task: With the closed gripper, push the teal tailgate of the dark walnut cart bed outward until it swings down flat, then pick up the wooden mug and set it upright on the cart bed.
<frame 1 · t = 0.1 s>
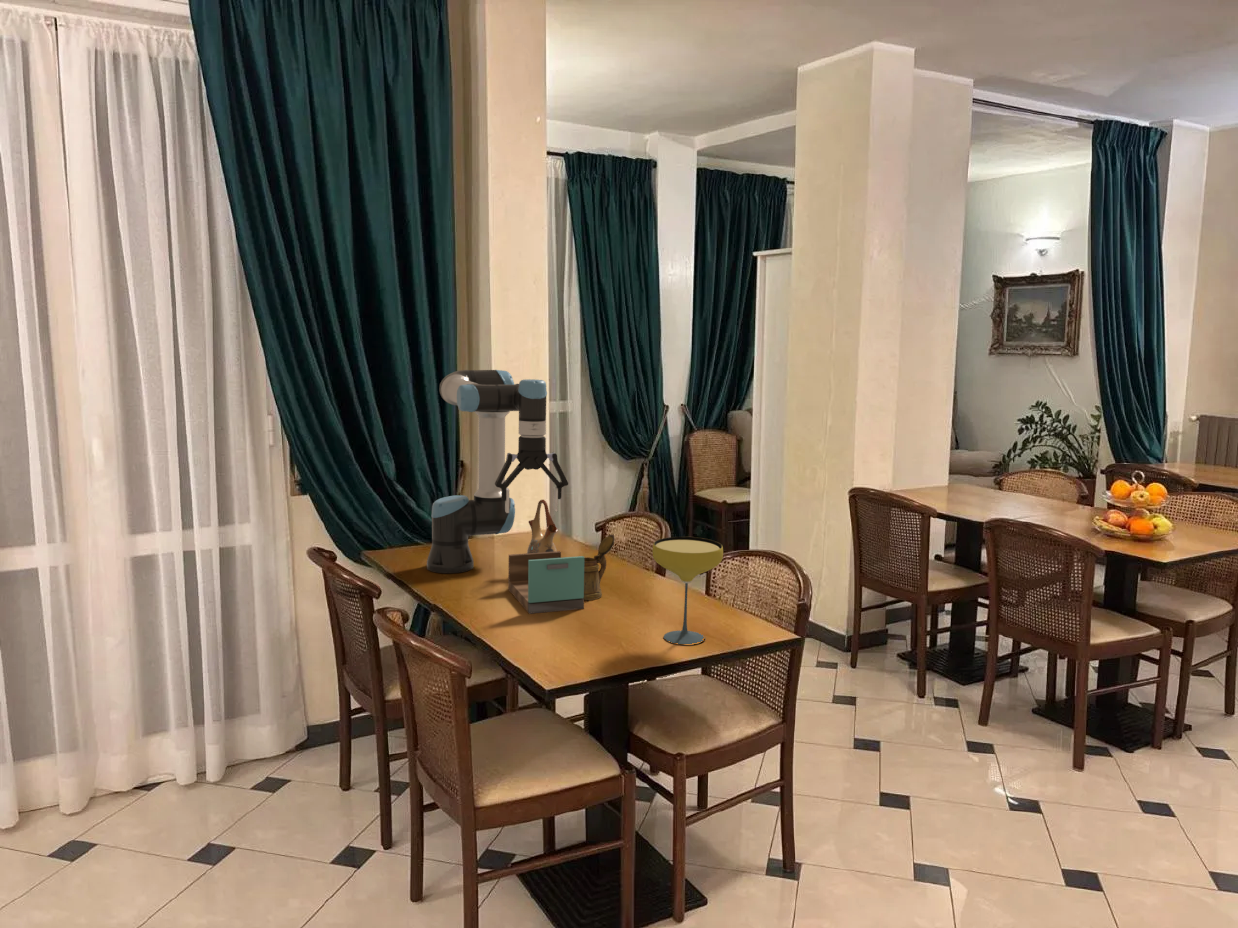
hand: (531, 511, 253), 28 cm above the table, tool pointing down, fingers open, 13 cm apart
ceramic vessel: (541, 576, 290), on the table
cocktail glass: (684, 639, 235), on the table
cart bed: (544, 598, 267), on the table
wooden mug: (593, 595, 271), on the table
tailgate: (556, 579, 254), point 9 cm above the table, hinge at 0.0°
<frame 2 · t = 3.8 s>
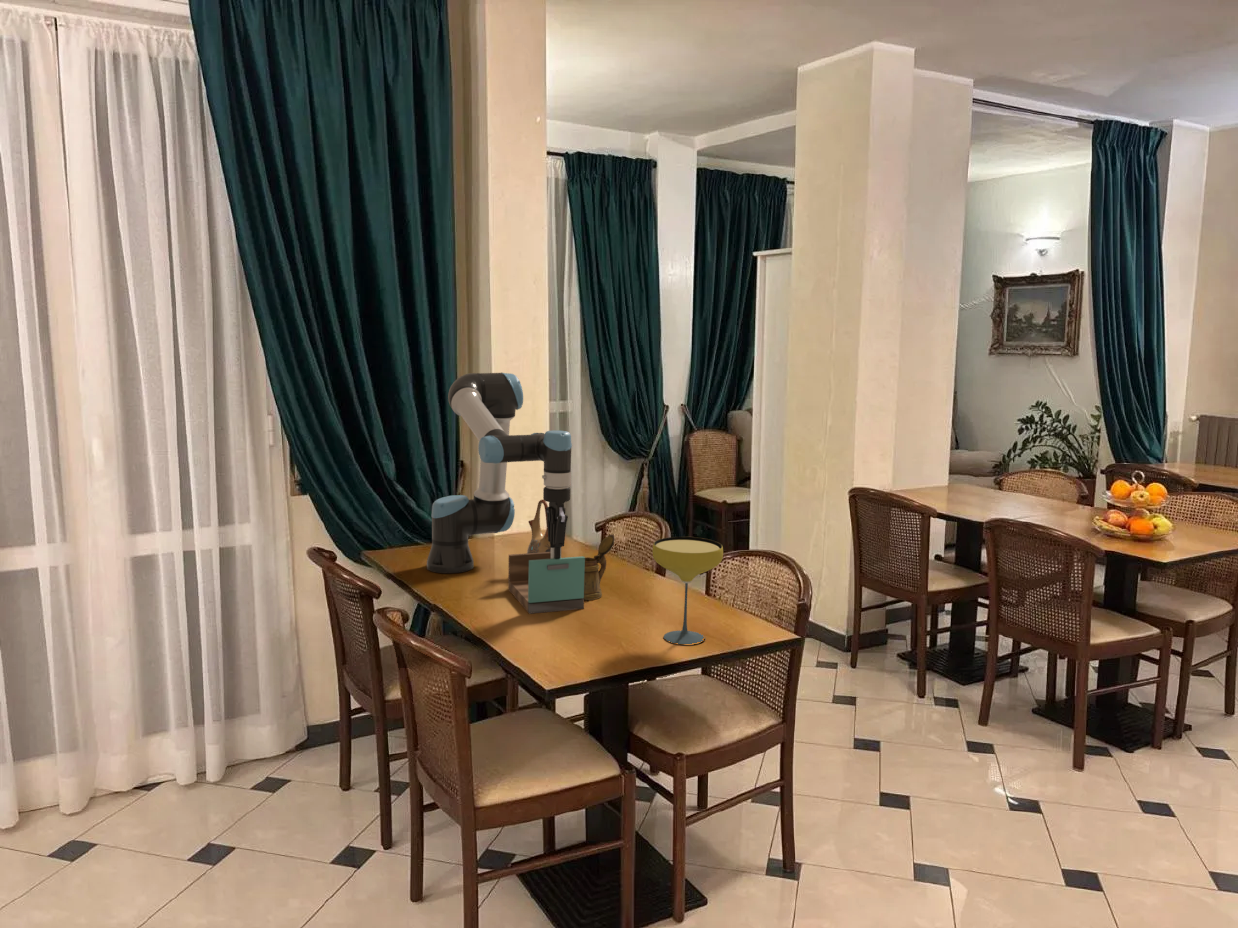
hand: (555, 568, 255), 12 cm above the table, tool pointing down, fingers closed
tailgate: (557, 579, 254), point 9 cm above the table, hinge at 1.9°, touching gripper
everything else where it was.
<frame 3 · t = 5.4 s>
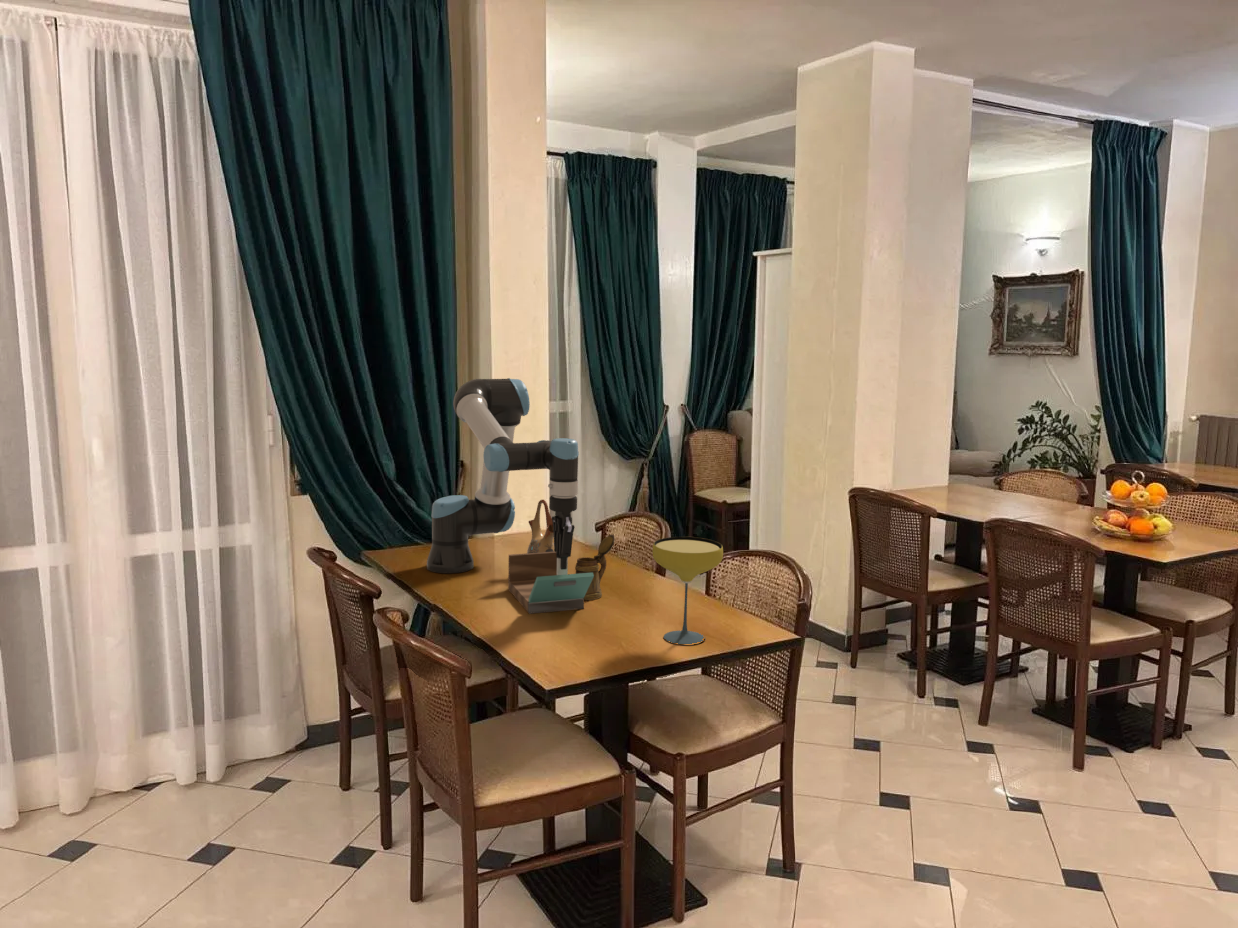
hand: (561, 579, 250), 10 cm above the table, tool pointing down, fingers closed
tailgate: (561, 588, 251), point 7 cm above the table, hinge at 43.6°, touching gripper
everything else where it was.
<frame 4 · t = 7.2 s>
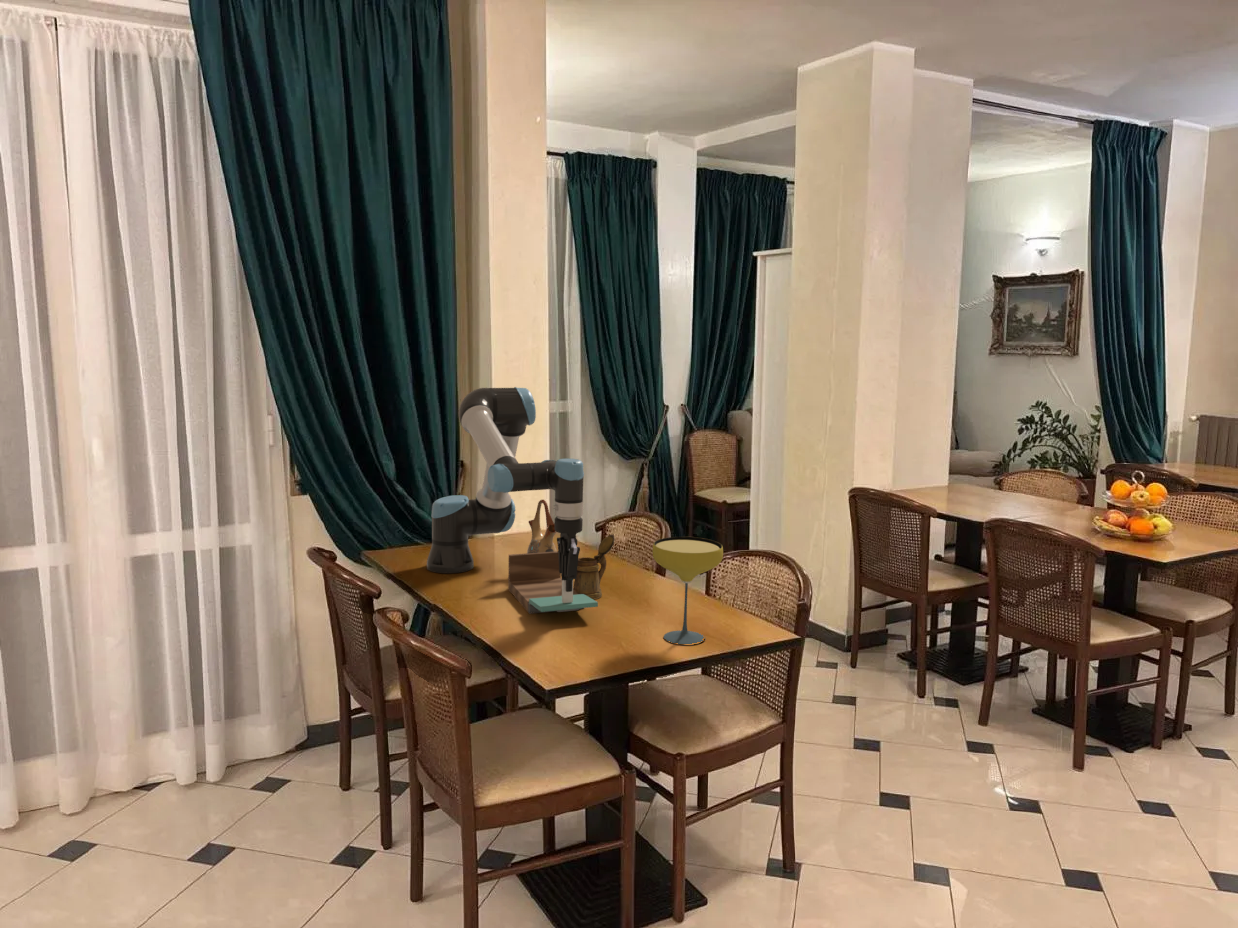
hand: (567, 601, 246), 5 cm above the table, tool pointing down, fingers closed
tailgate: (563, 603, 249), point 4 cm above the table, hinge at 84.5°, touching gripper
everything else where it was.
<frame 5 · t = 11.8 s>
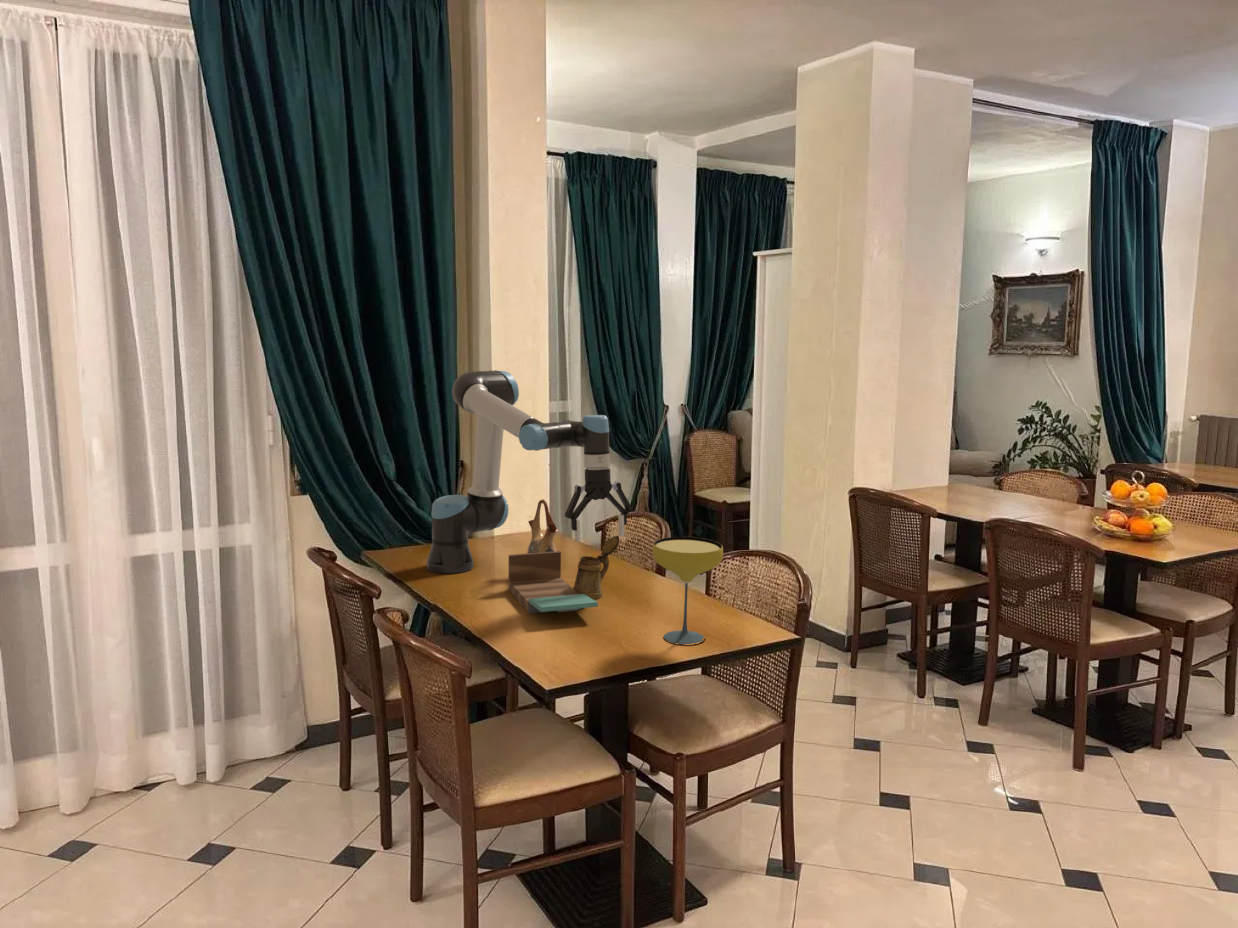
hand: (599, 538, 269), 17 cm above the table, tool pointing down, fingers open, 13 cm apart
wooden mug: (593, 595, 271), on the table, touching gripper
tailgate: (563, 603, 249), point 4 cm above the table, hinge at 84.5°
everything else where it was.
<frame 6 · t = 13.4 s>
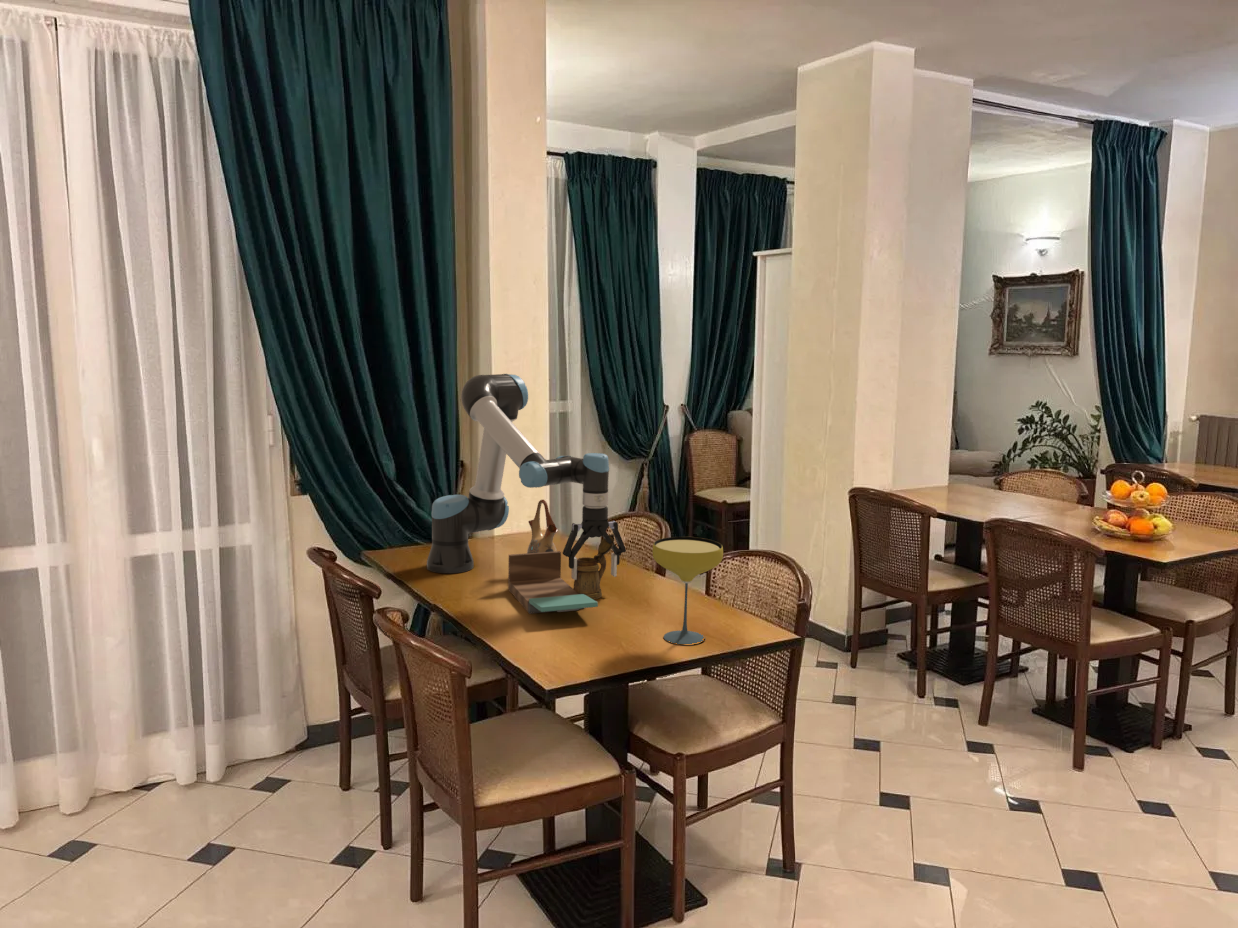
hand: (594, 577, 271), 5 cm above the table, tool pointing down, fingers open, 12 cm apart
wooden mug: (593, 595, 271), on the table, touching gripper, hand
everything else where it was.
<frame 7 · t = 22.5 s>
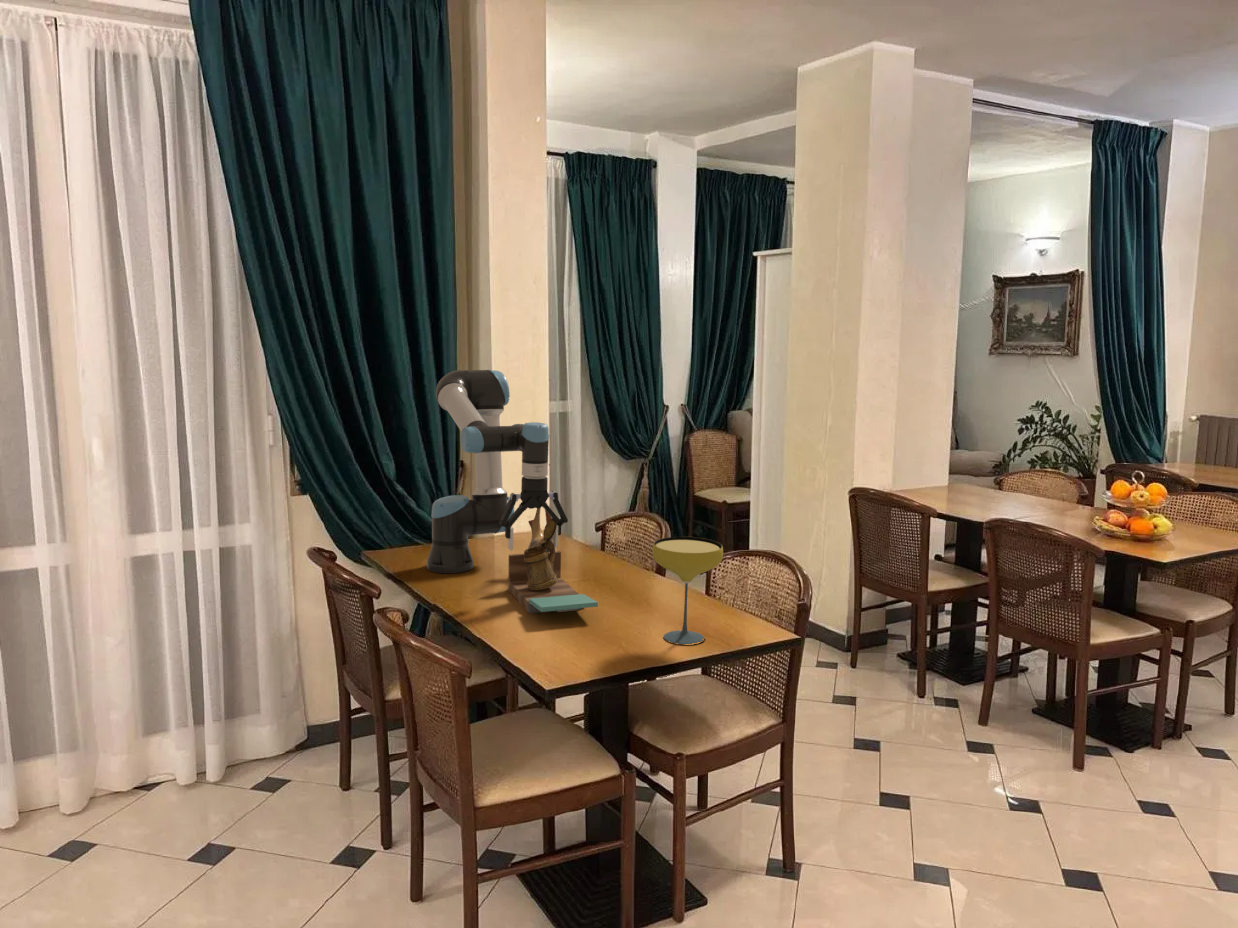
hand: (533, 547, 266), 15 cm above the table, tool pointing down, fingers open, 13 cm apart
wooden mug: (549, 582, 267), point 5 cm above the table, touching gripper
everything else where it was.
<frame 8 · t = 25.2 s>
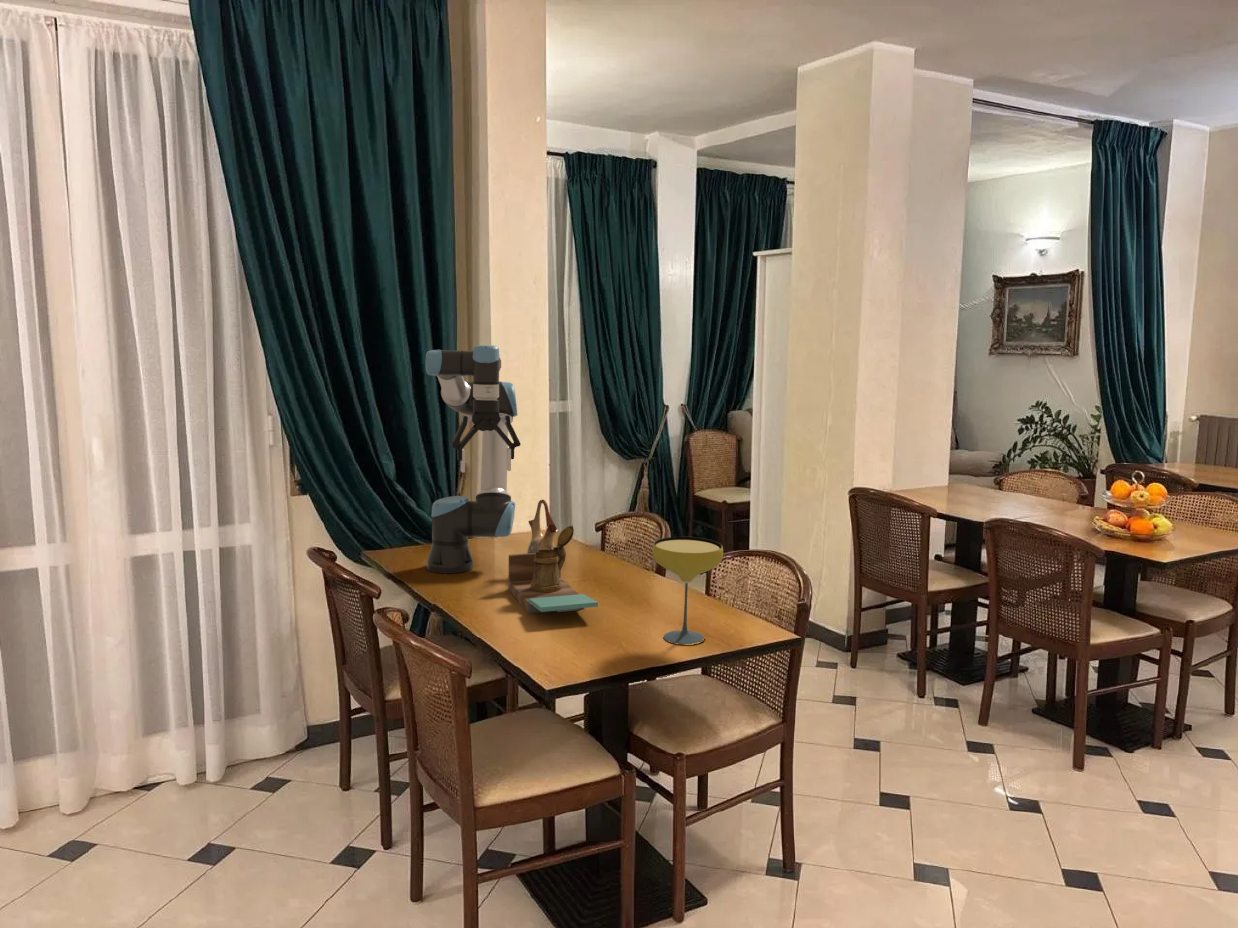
hand: (485, 471, 266), 37 cm above the table, tool pointing down, fingers open, 13 cm apart
wooden mug: (552, 587, 268), point 3 cm above the table, touching cart bed
everything else where it was.
at the end: tailgate at +84° (first picture: +0°); wooden mug inside the target area on the cart bed (3.0 cm from its centre), point 2.8 cm above the cart bed's base; wooden mug tilted 0° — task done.
